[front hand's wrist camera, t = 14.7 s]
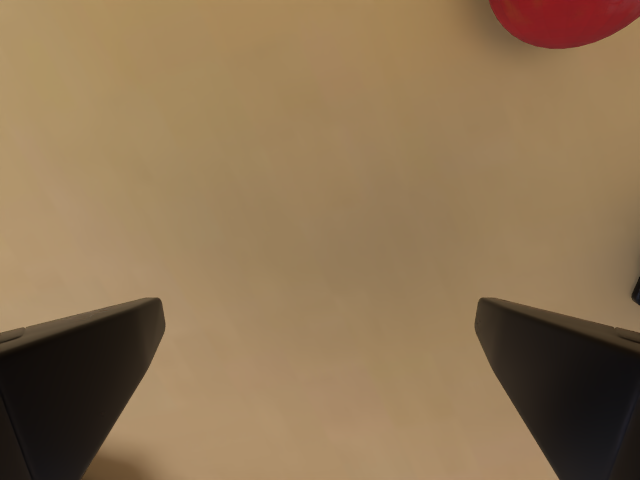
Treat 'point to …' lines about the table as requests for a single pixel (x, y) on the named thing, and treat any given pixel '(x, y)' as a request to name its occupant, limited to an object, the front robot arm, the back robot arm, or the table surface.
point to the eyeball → (564, 20)
